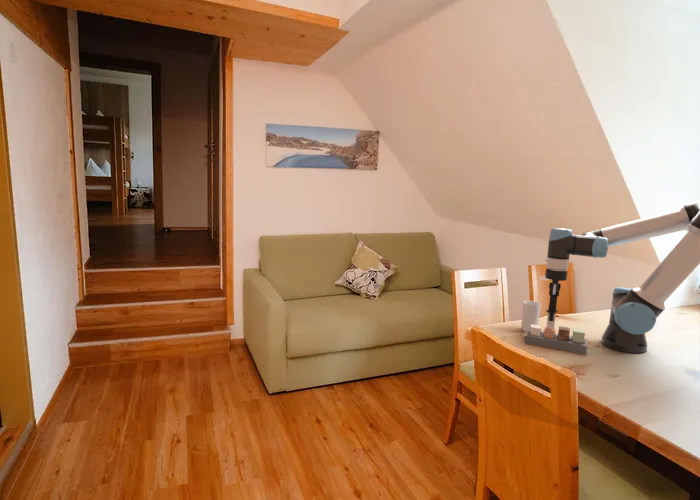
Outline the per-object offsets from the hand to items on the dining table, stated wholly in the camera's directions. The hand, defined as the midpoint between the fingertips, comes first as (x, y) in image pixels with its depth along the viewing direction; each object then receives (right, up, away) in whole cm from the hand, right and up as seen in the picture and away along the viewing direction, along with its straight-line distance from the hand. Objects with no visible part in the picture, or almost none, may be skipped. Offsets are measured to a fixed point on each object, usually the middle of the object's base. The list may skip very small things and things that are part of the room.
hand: (550, 328), depth 169 cm
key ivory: (-5, -4, +3) cm, 7 cm away
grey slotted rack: (+2, -6, 0) cm, 7 cm away
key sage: (+9, -4, -4) cm, 10 cm away
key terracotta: (0, -4, +1) cm, 4 cm away
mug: (-1, -4, +17) cm, 17 cm away
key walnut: (+4, -4, -2) cm, 6 cm away
